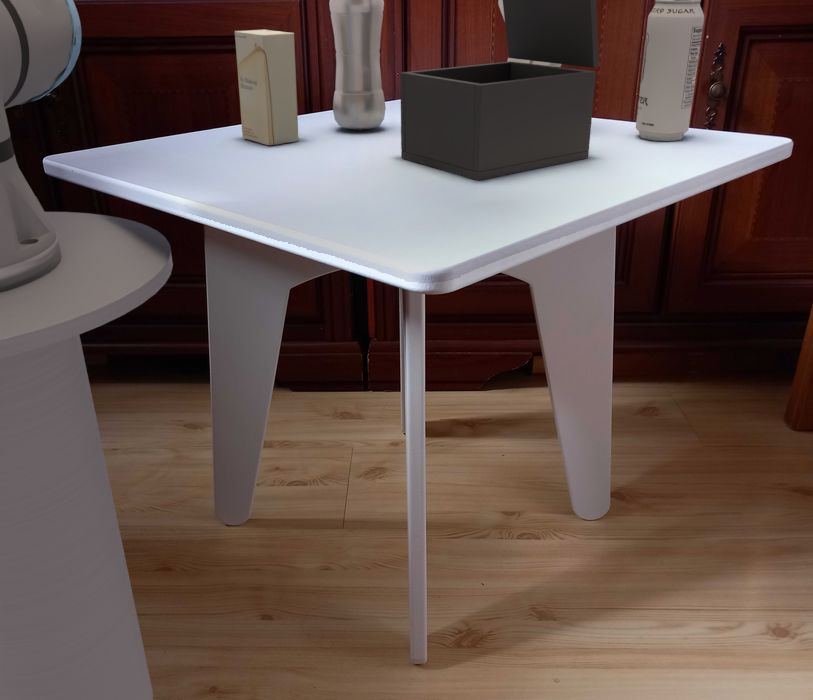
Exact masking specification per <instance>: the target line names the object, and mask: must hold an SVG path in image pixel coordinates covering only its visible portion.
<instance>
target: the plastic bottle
mask: <svg viewBox="0 0 813 700" xmlns="http://www.w3.org/2000/svg"><path fill="white" fill-rule="evenodd" d="M328 5H329V12H330V20H331V25H332V31H333V38H334V50H335V61H336V65H335V83H334V84H335V85H334V86H335V88H334V89H335V90H334V94H333V99H332V113H333V118H334V121H335V122H336V123H337V125H338V126H339V127H340V128H345V129H348V130H349V129H350V130H354V131H365V130H370V129H373V128H378V127H380V126H381V125H382V124H383V122H384V120H385V115H386V109H387V107H386V100H385V95H384V90H383V84H382V83H383V82H382V73H381V52H380V50H381V40H382V39H381V36H382V29H383V28H382V27H383V20H384V19H383V18H384V11H385V1H384V0H329V3H328Z"/></svg>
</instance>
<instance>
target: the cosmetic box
mask: <svg viewBox="0 0 813 700" xmlns="http://www.w3.org/2000/svg"><path fill="white" fill-rule="evenodd" d="M234 40H235V53H236V66H237V79H238V94H239V108H240V118H241V119H240V122H241V135H242V138H243V139H246V140H249V141H253V142H256V143H258V144H262V145H265V146H276V145H283V144H289V143H294V142H299V119H298V118H299V117H298V99H297V97H298V95H297V94H298V93H297V74H296V73H297V72H296V51H295V50H296V48H295V33H294V32H287V31H280V30H271V29H251V30H250V29H249V30H234Z"/></svg>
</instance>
